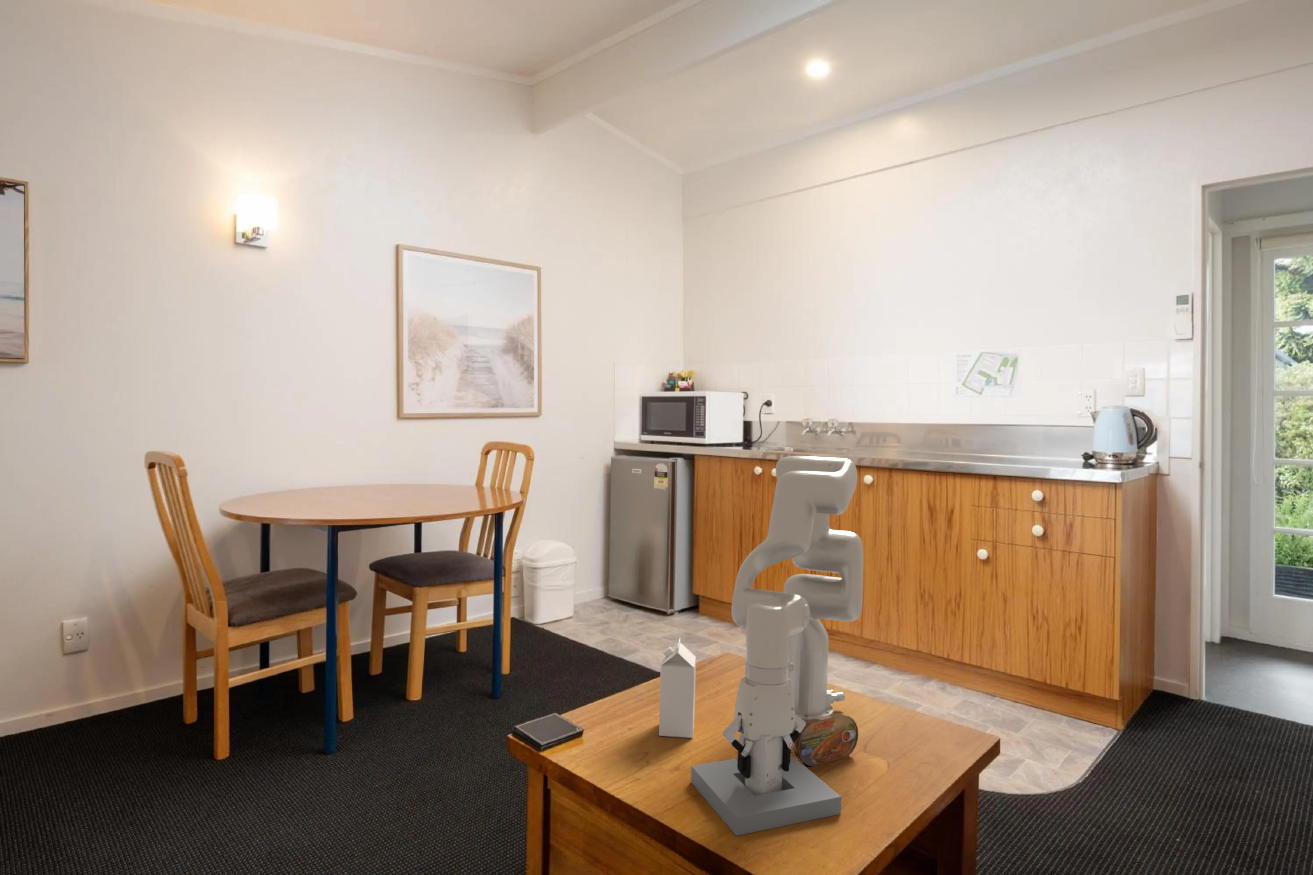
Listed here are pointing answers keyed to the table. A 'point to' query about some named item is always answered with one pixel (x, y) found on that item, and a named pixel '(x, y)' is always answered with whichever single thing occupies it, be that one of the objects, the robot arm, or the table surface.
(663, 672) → the milk carton
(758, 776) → the skincare box
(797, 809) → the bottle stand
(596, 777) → the table surface
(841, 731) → the tin
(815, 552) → the robot arm
